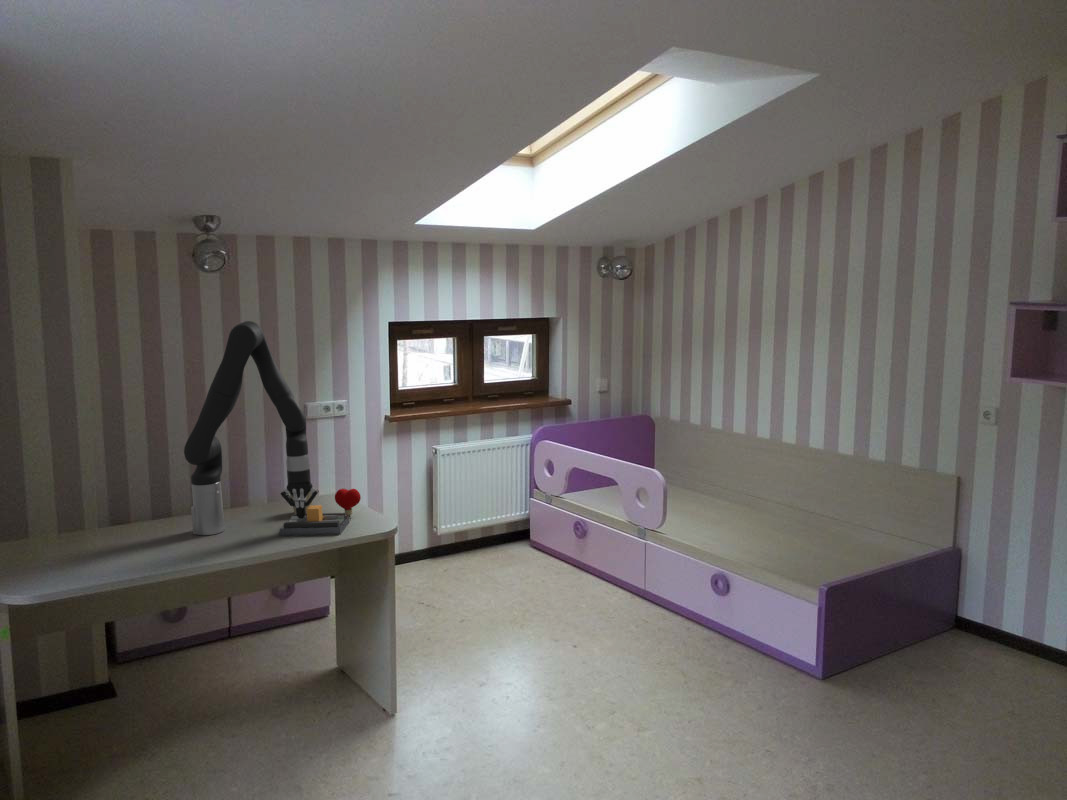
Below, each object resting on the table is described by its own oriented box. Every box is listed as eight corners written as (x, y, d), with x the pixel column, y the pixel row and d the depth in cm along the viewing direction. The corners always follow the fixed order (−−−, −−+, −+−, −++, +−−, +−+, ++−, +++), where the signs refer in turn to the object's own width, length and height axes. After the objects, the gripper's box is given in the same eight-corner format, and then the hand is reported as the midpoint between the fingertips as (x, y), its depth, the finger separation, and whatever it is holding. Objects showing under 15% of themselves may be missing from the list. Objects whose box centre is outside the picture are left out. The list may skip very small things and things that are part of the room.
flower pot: (291, 510, 302) (289, 487, 301) (317, 508, 304) (316, 486, 303) (288, 517, 293) (286, 494, 292) (315, 515, 295) (313, 492, 294)
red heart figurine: (364, 513, 296) (362, 486, 294) (358, 519, 289) (356, 491, 287) (339, 513, 297) (337, 486, 295) (332, 518, 290) (331, 491, 288)
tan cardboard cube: (307, 523, 275) (306, 509, 274) (311, 519, 280) (310, 505, 279) (319, 523, 275) (318, 508, 274) (322, 519, 280) (321, 505, 279)
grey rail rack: (283, 527, 271) (283, 523, 271) (293, 517, 283) (293, 514, 283) (337, 526, 272) (337, 522, 271) (345, 516, 283) (345, 512, 283)
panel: (280, 535, 271) (279, 525, 270) (292, 523, 285) (291, 513, 284) (340, 534, 271) (339, 523, 270) (349, 522, 285) (348, 512, 284)
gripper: (275, 470, 271) (278, 521, 273) (314, 469, 271) (318, 520, 273) (281, 466, 278) (285, 515, 281) (320, 465, 279) (323, 514, 281)
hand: (301, 517), depth 277 cm, fingers closed
